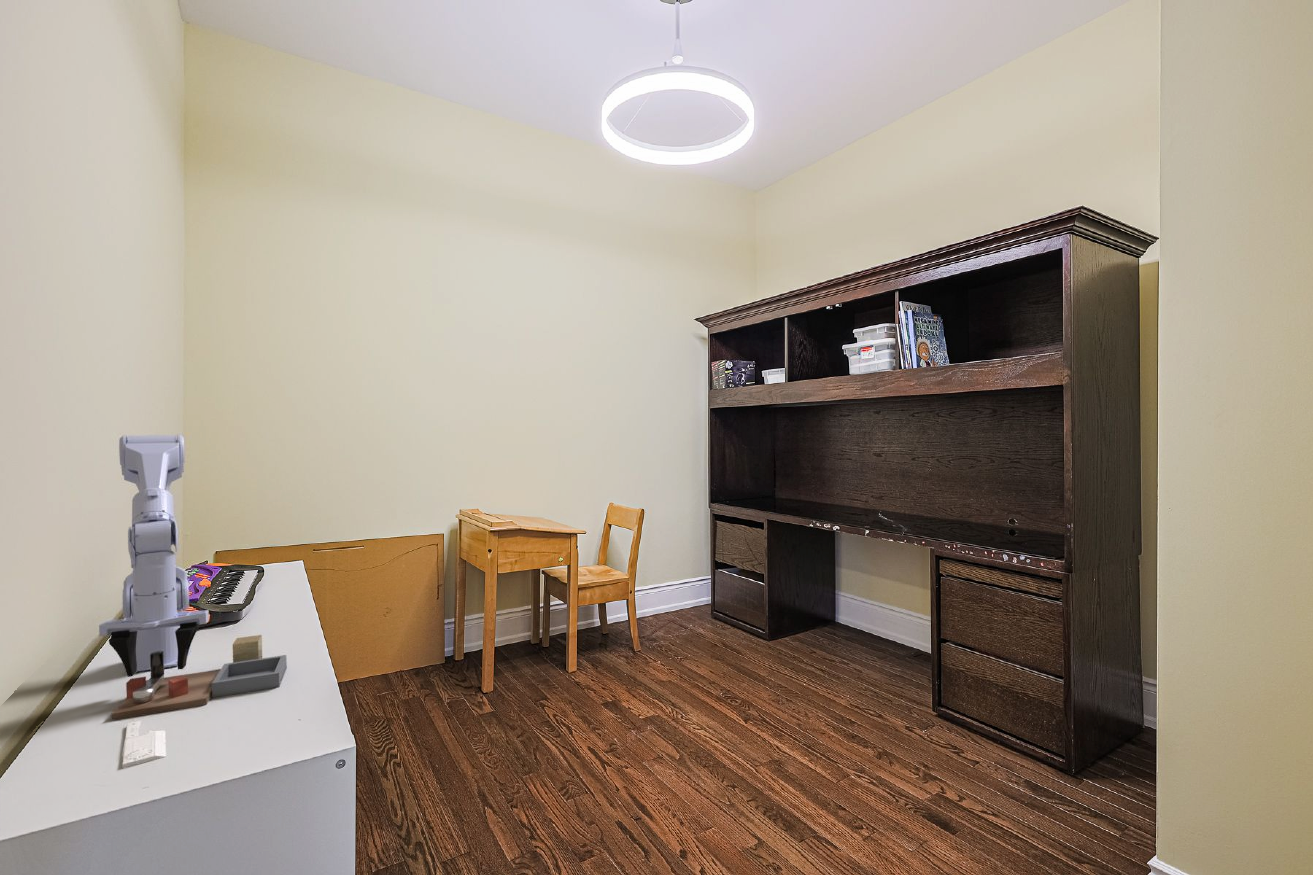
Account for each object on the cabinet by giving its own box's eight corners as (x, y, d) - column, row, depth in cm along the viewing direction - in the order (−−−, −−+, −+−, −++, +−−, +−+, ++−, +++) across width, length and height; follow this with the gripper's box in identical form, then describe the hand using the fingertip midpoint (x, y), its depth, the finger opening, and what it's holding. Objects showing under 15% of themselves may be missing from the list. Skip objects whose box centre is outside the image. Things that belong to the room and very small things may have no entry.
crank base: (142, 686, 108) (142, 666, 108) (225, 673, 113) (225, 654, 112) (111, 720, 95) (111, 697, 95) (206, 704, 100) (205, 682, 100)
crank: (149, 683, 106) (149, 652, 106) (168, 680, 107) (167, 649, 107) (130, 704, 98) (129, 670, 97) (151, 701, 99) (150, 668, 99)
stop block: (237, 664, 117) (236, 638, 117) (262, 660, 119) (261, 634, 119) (233, 671, 114) (232, 644, 114) (258, 667, 116) (258, 641, 115)
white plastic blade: (169, 719, 96) (169, 712, 96) (170, 758, 84) (170, 750, 84) (126, 728, 93) (126, 721, 93) (120, 771, 81) (120, 763, 81)
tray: (224, 676, 111) (224, 663, 111) (286, 667, 115) (286, 654, 115) (212, 697, 102) (211, 683, 102) (279, 686, 106) (279, 672, 106)
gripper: (90, 602, 99) (92, 687, 99) (200, 591, 105) (202, 671, 105) (107, 592, 105) (110, 672, 105) (210, 582, 111) (212, 657, 111)
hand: (157, 670), depth 106 cm, fingers open, 6 cm apart
